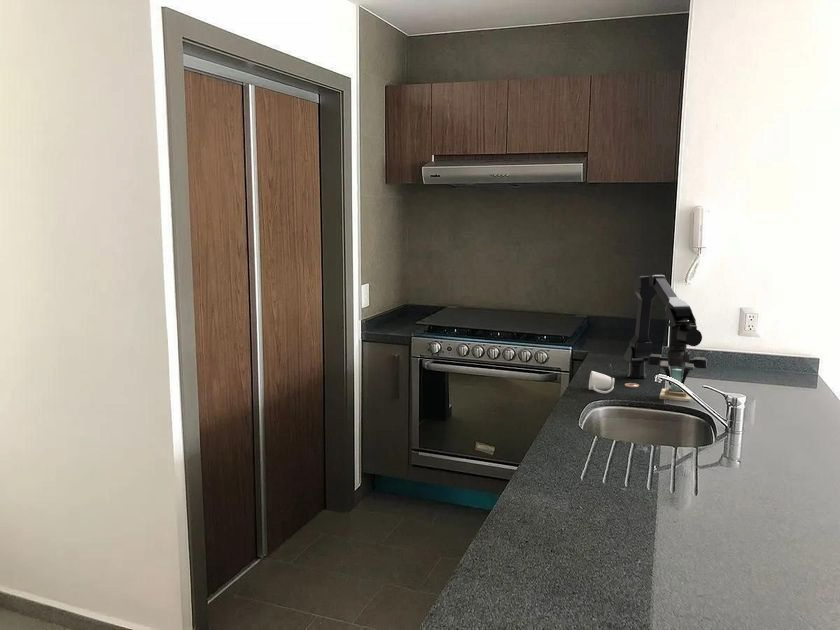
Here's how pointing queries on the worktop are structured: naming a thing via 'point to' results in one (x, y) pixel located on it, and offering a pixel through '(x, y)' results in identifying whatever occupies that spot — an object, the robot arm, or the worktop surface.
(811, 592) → the worktop surface
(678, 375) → the peg
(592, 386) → the cup
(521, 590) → the worktop surface
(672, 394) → the board
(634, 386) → the peach flat disc
